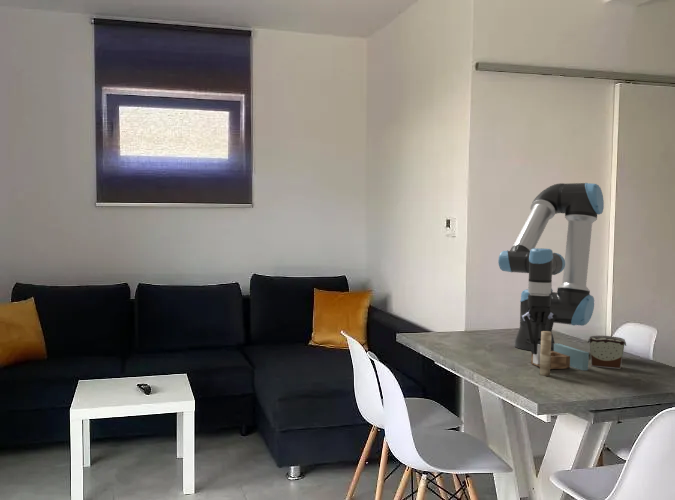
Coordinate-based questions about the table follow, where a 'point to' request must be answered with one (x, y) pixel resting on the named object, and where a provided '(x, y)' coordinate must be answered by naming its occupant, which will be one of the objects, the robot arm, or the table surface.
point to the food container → (606, 351)
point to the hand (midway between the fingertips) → (537, 363)
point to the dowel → (545, 353)
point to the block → (556, 361)
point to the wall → (574, 356)
